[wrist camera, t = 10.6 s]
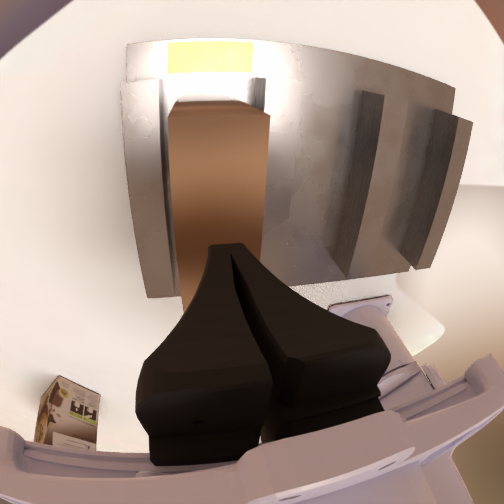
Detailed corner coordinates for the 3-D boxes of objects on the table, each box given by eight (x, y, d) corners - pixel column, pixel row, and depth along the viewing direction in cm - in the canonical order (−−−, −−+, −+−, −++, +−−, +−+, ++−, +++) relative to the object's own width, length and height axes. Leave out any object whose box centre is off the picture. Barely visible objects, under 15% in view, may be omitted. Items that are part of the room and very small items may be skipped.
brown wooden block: (235, 262, 23) (254, 329, 18) (183, 266, 23) (187, 336, 17) (241, 100, 17) (270, 115, 11) (175, 102, 16) (167, 117, 10)
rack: (405, 267, 29) (422, 287, 26) (152, 293, 24) (149, 322, 21) (450, 87, 18) (478, 94, 16) (128, 45, 14) (116, 39, 11)
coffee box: (57, 373, 28) (41, 497, 15) (101, 394, 31) (99, 512, 18) (39, 396, 30) (27, 498, 17) (77, 414, 34) (73, 512, 20)
